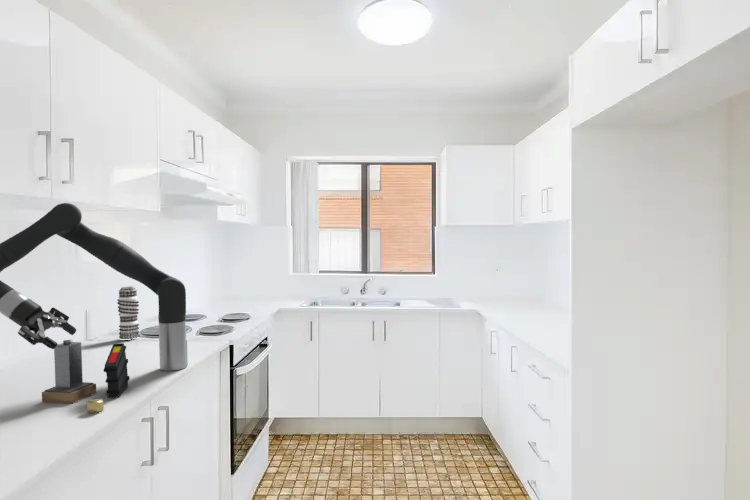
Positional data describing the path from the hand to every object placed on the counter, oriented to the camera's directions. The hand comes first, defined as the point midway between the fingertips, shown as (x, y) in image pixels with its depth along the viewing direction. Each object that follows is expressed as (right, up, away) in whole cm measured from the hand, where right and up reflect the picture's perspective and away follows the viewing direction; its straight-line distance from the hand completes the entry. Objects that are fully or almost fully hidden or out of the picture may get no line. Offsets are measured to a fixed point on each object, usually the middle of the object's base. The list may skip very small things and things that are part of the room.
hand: (65, 339), depth 155 cm
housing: (+1, -14, 0) cm, 14 cm away
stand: (+1, -18, 0) cm, 18 cm away
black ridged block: (+14, -18, +3) cm, 23 cm away
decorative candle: (-23, -16, +88) cm, 92 cm away
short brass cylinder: (+16, -18, -13) cm, 27 cm away
